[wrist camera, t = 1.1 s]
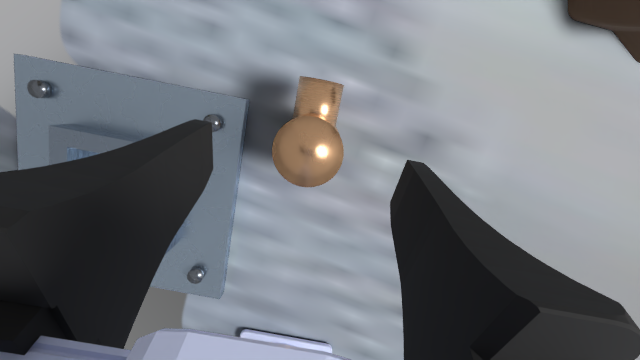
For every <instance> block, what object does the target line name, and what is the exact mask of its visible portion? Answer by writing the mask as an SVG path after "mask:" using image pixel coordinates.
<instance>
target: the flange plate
mask: <svg viewBox="0 0 640 360" xmlns="http://www.w3.org/2000/svg"><path fill="white" fill-rule="evenodd" d="M14 72H15V99H16V125H17V152H18V170H23V169H29V168H36V167H42V166H47V165H52V164H57V163H62V162H67V161H72V160H77V159H81V158H85V157H89V156H93V155H97V154H100V153H104V152H107V151H111V150H114V149H117V148H120V147H123V146H126V145H129V144H131V143H134V142H137V141H140V140H142V139H145V138H148V137H150V136H153V135H155V134H158V133H160V132H163V131H165V130H168V129H170V128H172V127H175V126H177V125H180V124H182V123H185V122H187V121H190V120H194V119H197V120H202V121H207V122H212V141H213V171H212V173H211V176H210V178H209V181H208V183H207V185H206V187H205V189H204V191H203V193H202V194H201V196H200V198H199V199H198V201H197V202H196V204H195V205H194V207H193V209H192V210H191V212H190V213H189V215H188V216H187V218H186V219H185V221H184V222H183V224H182V226H181V227H180V229H179V230H178V232H177V233H176V235H175V237H174V238H173V240H172V242H171V243H170V245H169V247H168V249H167V251H166V253H165V255H164V257H163V259H162V261H161V263H160V265H159V267H158V269H157V271H156V274H155V276H154V278H153V280H152V282H151V284H150V287H156V288H161V289H167V290H172V291H178V292H183V293H189V294H194V295H199V296H205V297H210V298H216V299H220V298H221V296H222V294H223V292H224V285H225V278H226V271H227V263H228V256H229V248H230V241H231V234H232V226H233V219H234V212H235V204H236V197H237V189H238V182H239V175H240V167H241V160H242V152H243V145H244V138H245V130H246V123H247V116H248V108H249V101H250V100H249V99H243V98H238V97H233V96H228V95H223V94H218V93H213V92H208V91H203V90H198V89H193V88H188V87H183V86H178V85H173V84H168V83H163V82H158V81H153V80H148V79H143V78H138V77H133V76H128V75H123V74H117V73H112V72H107V71H102V70H97V69H92V68H87V67H82V66H77V65H72V64H67V63H62V62H57V61H51V60H47V59H42V58H37V57H31V56H27V55H20V54H14Z"/></svg>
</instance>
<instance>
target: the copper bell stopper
mask: <svg viewBox="0 0 640 360" xmlns="http://www.w3.org/2000/svg"><path fill="white" fill-rule="evenodd" d="M343 87H344V85H342V84H339V83H335V82H330V81H326V80H321V79H316V78H310V77H303V76H300V79H299V84H298V90H297V96H296V102H295V108H294V114H293V119H292V120H290V121H289V122H287V123H286V124H284V125H283V126H282V127H281V128H280V130H279V131H278V132H277V134H276V136H275V138H274V141H273V145H272V157H273V161H274V164H275V166H276V168H277V170H278V172H279V173H280V174H281V175H282V176H283V177H284V178H285V179H286V180H287V181H289V182H291V183H292V184H295V185H297V186H301V187H315V186H319V185H322V184H324V183H326V182H328V181H329V180H330V179H331V178H333V177H334V176H335V174H336V173H337V172H338V170H339V168H340V166H341V164H342V160H343V144H342V140H341V138H340V135H339V132H338V130H337V128H336V122H337V117H338V112H339V107H340V102H341V97H342V92H343Z"/></svg>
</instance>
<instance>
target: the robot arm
mask: <svg viewBox="0 0 640 360" xmlns="http://www.w3.org/2000/svg"><path fill="white" fill-rule="evenodd" d="M212 171H213V141H212V122H207V121H202V120H197V119H194V120H190V121H187V122H185V123H182V124H180V125H177V126H175V127H172V128H170V129H168V130H165V131H163V132H160V133H158V134H155V135H153V136H150V137H148V138H145V139H142V140H140V141H137V142H134V143H131V144H129V145H126V146H123V147H120V148H117V149H114V150H111V151H107V152H104V153H100V154H97V155H93V156H89V157H85V158H81V159H77V160H72V161H67V162H62V163H57V164H52V165H47V166H42V167H36V168H29V169H23V170H15V171H8V172H0V360H351V359H348V358H344V357H341V356H338V355H335V354H332V347H331V345H329V344H326V343H321V342H315V341H309V340H304V339H298V338H293V337H287V336H282V335H276V334H271V333H265V332H260V331H254V330H248V329H244V330H242V331H241V334H240V337H235V336H229V335H223V334H217V333H211V332H205V331H199V330H193V329H168V328H164V329H161V330H158V331H156V332H154V333H151V334H148V335H146V336H143V337H141V338H138V339H137V341H136V342H135V344H134V346H133V348H132V350H126V349H124V346H125V343H126V341H127V338H128V336H129V333H130V331H131V328H132V326H133V323H134V321H135V319H136V316H137V314H138V312H139V309H140V307H141V305H142V302H143V300H144V298H145V295H146V293H147V291H148V289H149V287H150V284H151V282H152V280H153V278H154V276H155V274H156V271H157V269H158V267H159V265H160V263H161V261H162V259H163V257H164V255H165V253H166V251H167V249H168V247H169V245H170V243H171V242H172V240H173V238H174V237H175V235H176V233H177V232H178V230H179V229H180V227H181V226H182V224H183V222H184V221H185V219H186V218H187V216H188V215H189V213H190V212H191V210H192V209H193V207H194V205H195V204H196V202H197V201H198V199H199V198H200V196H201V194H202V193H203V191H204V189H205V187H206V185H207V183H208V181H209V178H210V176H211V173H212ZM390 214H391V228H392V235H393V241H394V246H395V252H396V257H397V263H398V269H399V274H400V282H401V292H402V308H403V333H404V360H635V359H636V358H637V357H638V356H639V355H640V329H639V328H638V326H637V325H636V324H635V322H634V321H633V320H632V318H631V317H630V316H629V314H628V313H627V312H626V310H625V309H624V308H623V306H622V305H621V304H620V303H618V302H616V301H614V300H612V299H610V298H608V297H606V296H604V295H602V294H600V293H598V292H596V291H594V290H592V289H590V288H588V287H586V286H584V285H582V284H580V283H578V282H576V281H574V280H573V279H571V278H569V277H567V276H565V275H564V274H562V273H560V272H558V271H557V270H555V269H553V268H551V267H550V266H548V265H546V264H545V263H543V262H541V261H540V260H538V259H536V258H535V257H533V256H532V255H530V254H529V253H527V252H526V251H524V250H523V249H521V248H520V247H518V246H517V245H515V244H514V243H512V242H511V241H509V240H508V239H507V238H505V237H504V236H502V235H501V234H500V233H499V232H497V231H496V230H495V229H493V228H492V227H491V226H490V225H488V224H487V223H486V222H485V221H483V220H482V219H481V218H480V217H479V216H478V215H476V214H475V213H474V212H473V211H472V210H471V209H470V208H469V207H468V206H466V205H465V204H464V203H463V202H462V201H461V200H460V199H459V198H458V197H457V196H456V195H455V194H454V193H453V192H452V191H451V190H450V189H449V188H448V187H447V186H446V185H445V184H444V183H443V182H442V181H441V179H440V178H439V177H438V176H437V175H436V174H435V173H434V172H433V171H432V170H431V169H430V168H429V167H428V166H427V165H425V164H424V163H421V162H416V161H411V160H407V162H406V164H405V167H404V169H403V172H402V174H401V177H400V179H399V182H398V184H397V187H396V189H395V192H394V194H393V197H392V199H391V202H390Z"/></svg>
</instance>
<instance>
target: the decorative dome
mask: <svg viewBox="0 0 640 360" xmlns="http://www.w3.org/2000/svg"><path fill="white" fill-rule="evenodd" d="M568 13H569V15H570V17H571V18H572V19H574V20H576V21H579V22H583V23H586V24H590V25H594V26H597V27H601V28H604V29H608V30H611V31H613V32H614V33H615V34H616V36H617V37H618V38H619V40H620V41H621V42H622V44H623V45H624V46H625V47H626V49H627V50H628V51H629V52H630V54H631V55H632V56H633V58H634V59H635V60H636V61H637V62H639V63H640V0H568Z"/></svg>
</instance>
